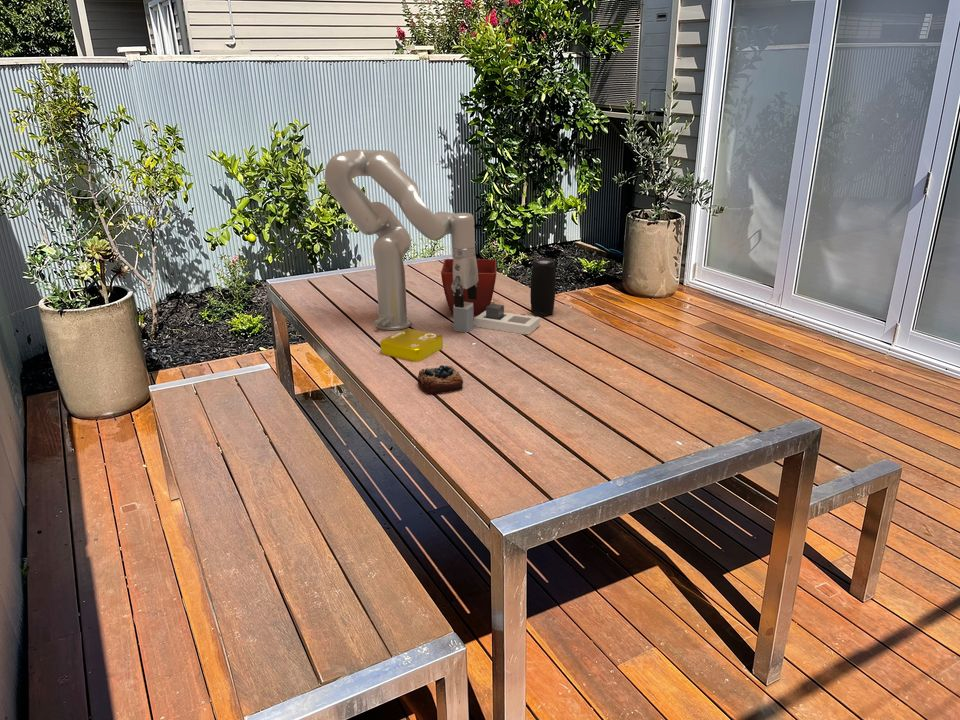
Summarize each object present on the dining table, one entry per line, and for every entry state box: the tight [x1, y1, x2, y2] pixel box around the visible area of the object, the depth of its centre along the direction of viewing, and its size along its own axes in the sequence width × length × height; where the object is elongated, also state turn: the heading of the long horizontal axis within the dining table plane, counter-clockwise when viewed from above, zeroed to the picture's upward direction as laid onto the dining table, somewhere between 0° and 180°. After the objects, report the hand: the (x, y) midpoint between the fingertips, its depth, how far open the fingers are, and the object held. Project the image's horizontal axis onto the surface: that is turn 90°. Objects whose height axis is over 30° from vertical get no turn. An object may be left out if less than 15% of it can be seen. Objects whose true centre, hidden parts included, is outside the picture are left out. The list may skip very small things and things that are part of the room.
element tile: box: [380, 327, 444, 363], centre depth 219 cm, size 15×15×5 cm
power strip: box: [474, 302, 541, 336], centre depth 242 cm, size 18×20×7 cm
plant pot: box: [440, 258, 497, 317], centre depth 253 cm, size 19×19×17 cm
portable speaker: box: [530, 257, 557, 318], centre depth 249 cm, size 9×9×20 cm
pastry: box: [417, 364, 464, 395], centre depth 193 cm, size 11×12×6 cm
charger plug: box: [452, 302, 475, 334], centre depth 235 cm, size 5×5×9 cm
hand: (466, 302), depth 233 cm, fingers open, 9 cm apart
